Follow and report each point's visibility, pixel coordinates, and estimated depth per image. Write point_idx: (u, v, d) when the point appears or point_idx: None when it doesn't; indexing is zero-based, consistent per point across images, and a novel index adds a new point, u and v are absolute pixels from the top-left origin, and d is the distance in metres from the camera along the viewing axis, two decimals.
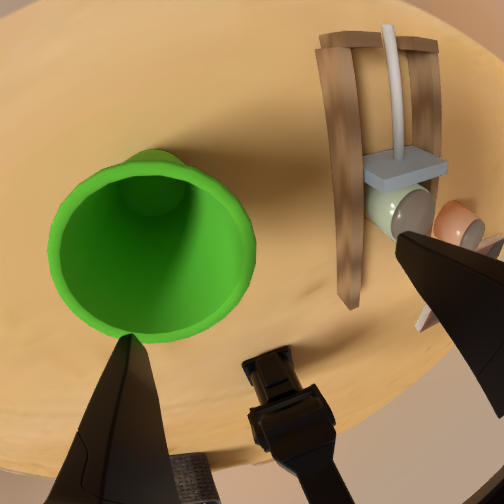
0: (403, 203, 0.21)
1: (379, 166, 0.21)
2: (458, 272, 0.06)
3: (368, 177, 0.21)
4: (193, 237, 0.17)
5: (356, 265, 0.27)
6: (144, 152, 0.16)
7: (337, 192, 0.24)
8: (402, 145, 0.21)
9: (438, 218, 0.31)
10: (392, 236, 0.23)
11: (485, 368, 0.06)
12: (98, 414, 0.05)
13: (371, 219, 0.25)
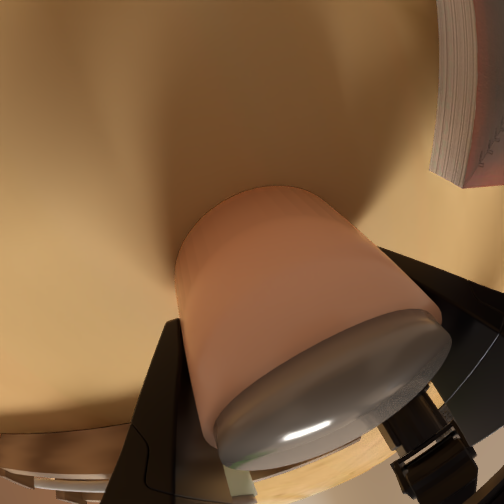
0: None
1: None
2: None
3: None
4: None
5: (285, 471, 0.17)
6: None
7: None
8: None
9: None
10: None
11: (454, 396, 0.06)
12: (155, 402, 0.05)
13: None
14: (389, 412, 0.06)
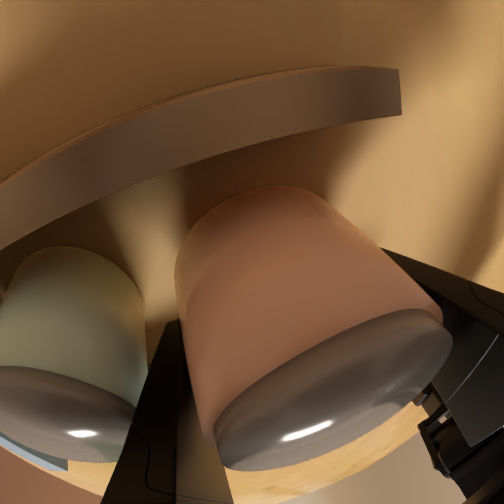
0: None
1: None
2: None
3: None
4: None
5: None
6: None
7: None
8: None
9: None
10: None
11: (454, 396, 0.06)
12: (156, 402, 0.05)
13: None
14: (390, 412, 0.06)
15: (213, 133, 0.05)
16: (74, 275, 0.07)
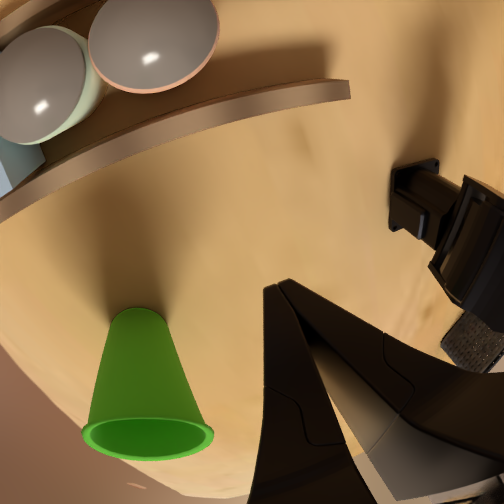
0: (7, 138, 0.08)
1: None
2: (324, 345, 0.06)
3: None
4: None
5: (246, 108, 0.14)
6: None
7: None
8: None
9: None
10: (70, 116, 0.10)
11: (371, 451, 0.05)
12: (288, 360, 0.05)
13: (82, 117, 0.12)
14: (193, 50, 0.09)
15: None
16: None
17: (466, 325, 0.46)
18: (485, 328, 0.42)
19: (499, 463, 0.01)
